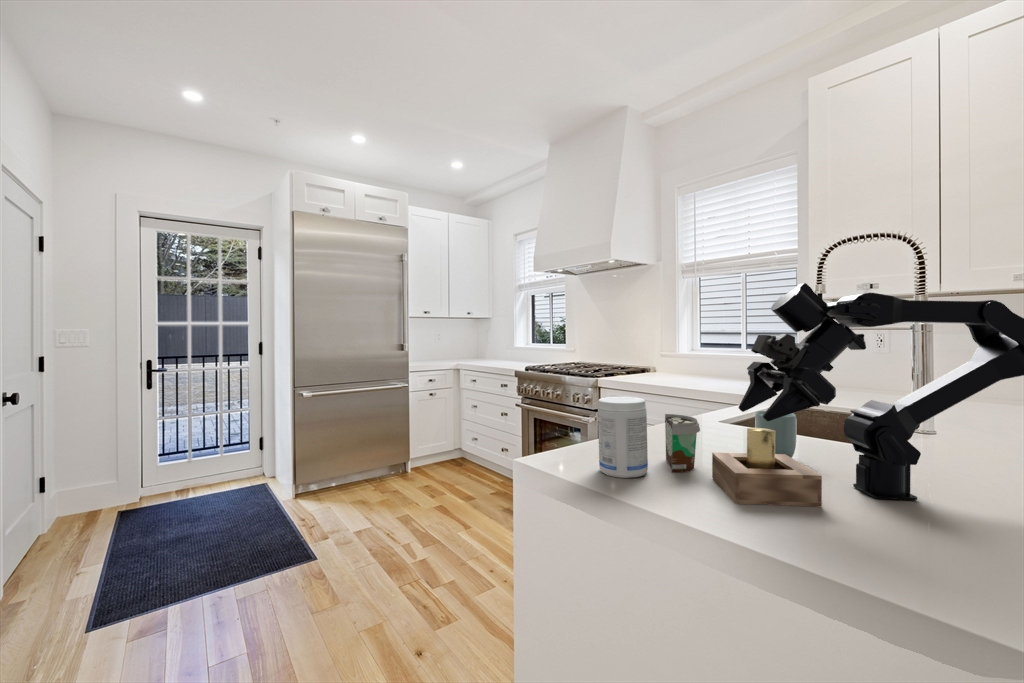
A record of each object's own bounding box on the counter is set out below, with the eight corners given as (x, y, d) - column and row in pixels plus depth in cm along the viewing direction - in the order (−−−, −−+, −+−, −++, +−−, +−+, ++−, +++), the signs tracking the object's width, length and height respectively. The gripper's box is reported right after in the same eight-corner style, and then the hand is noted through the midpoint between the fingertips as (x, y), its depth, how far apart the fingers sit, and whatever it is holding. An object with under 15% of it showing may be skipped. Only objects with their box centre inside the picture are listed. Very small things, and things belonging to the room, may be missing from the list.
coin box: (785, 480, 86) (785, 454, 86) (821, 506, 73) (821, 475, 73) (712, 478, 88) (712, 452, 88) (735, 503, 75) (735, 473, 75)
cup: (763, 463, 98) (763, 416, 98) (750, 453, 105) (750, 410, 105) (802, 464, 96) (803, 417, 96) (787, 454, 104) (787, 410, 104)
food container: (706, 476, 89) (706, 425, 89) (672, 474, 91) (672, 424, 90) (694, 459, 101) (694, 414, 101) (665, 458, 103) (664, 413, 102)
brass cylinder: (773, 485, 82) (774, 429, 82) (775, 492, 78) (776, 433, 78) (745, 482, 84) (746, 427, 84) (746, 488, 80) (747, 430, 80)
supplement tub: (645, 466, 97) (644, 396, 96) (650, 480, 87) (649, 403, 87) (598, 464, 98) (597, 395, 98) (598, 478, 89) (597, 402, 89)
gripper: (757, 319, 89) (699, 377, 90) (815, 316, 71) (742, 388, 71) (799, 360, 89) (741, 417, 90) (868, 367, 70) (794, 439, 71)
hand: (752, 414), depth 81 cm, fingers open, 9 cm apart
